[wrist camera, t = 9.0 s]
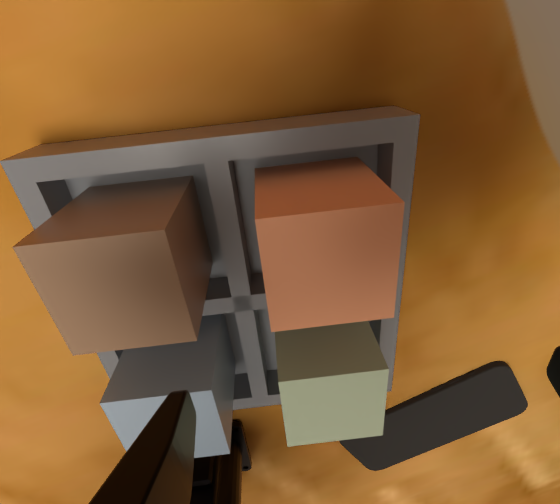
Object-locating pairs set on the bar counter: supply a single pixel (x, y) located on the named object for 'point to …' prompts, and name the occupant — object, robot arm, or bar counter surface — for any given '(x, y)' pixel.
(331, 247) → the terracotta block
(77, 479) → the bar counter surface
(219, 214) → the grid tray
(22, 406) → the bar counter surface
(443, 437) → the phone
